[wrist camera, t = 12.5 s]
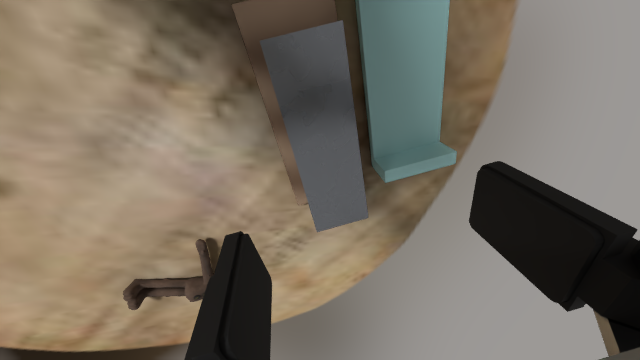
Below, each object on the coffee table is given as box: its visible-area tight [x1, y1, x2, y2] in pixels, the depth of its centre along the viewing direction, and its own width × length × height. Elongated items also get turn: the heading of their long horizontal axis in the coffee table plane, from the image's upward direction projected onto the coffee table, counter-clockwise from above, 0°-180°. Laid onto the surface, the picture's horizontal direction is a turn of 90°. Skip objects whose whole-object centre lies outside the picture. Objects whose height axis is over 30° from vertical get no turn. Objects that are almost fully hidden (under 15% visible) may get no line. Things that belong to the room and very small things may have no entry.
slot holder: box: [355, 0, 457, 183], centre depth 21 cm, size 20×8×4 cm, turn 12°
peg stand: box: [231, 0, 338, 205], centre depth 21 cm, size 20×8×6 cm, turn 12°
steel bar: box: [260, 20, 368, 232], centre depth 17 cm, size 14×4×4 cm, turn 12°
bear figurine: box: [123, 239, 214, 310], centre depth 32 cm, size 18×4×14 cm
